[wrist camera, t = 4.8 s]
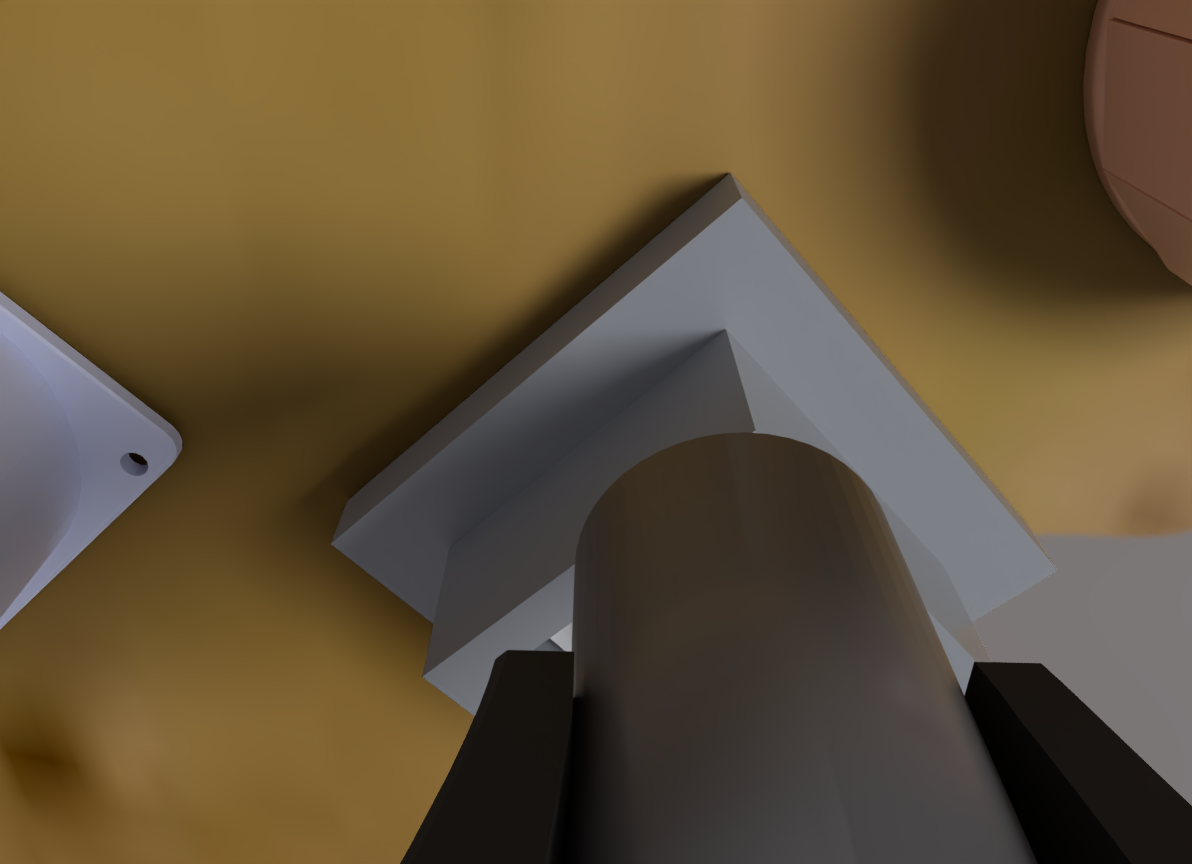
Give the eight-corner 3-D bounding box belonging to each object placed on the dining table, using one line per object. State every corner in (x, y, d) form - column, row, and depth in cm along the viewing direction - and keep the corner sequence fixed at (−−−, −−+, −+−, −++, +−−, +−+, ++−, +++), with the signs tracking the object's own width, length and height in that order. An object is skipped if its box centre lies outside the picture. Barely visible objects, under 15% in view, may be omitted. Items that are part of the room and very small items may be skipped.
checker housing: (663, 755, 24) (679, 952, 20) (347, 500, 20) (281, 672, 16) (1028, 526, 21) (1144, 700, 16) (730, 172, 17) (777, 276, 13)
